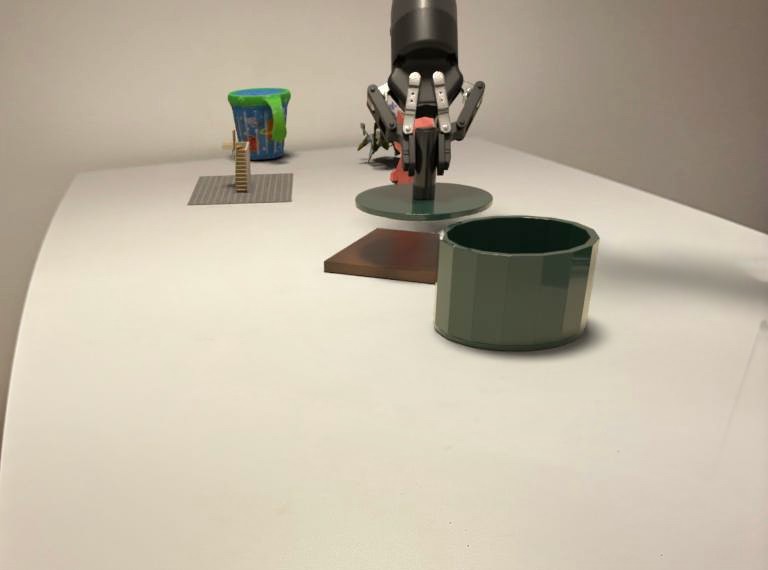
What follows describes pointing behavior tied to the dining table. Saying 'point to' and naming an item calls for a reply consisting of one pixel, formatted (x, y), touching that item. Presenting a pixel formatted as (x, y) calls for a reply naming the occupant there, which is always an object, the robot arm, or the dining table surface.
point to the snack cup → (261, 120)
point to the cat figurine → (398, 174)
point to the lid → (424, 190)
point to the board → (389, 256)
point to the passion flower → (379, 135)
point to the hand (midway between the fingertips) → (426, 171)
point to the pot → (514, 281)
